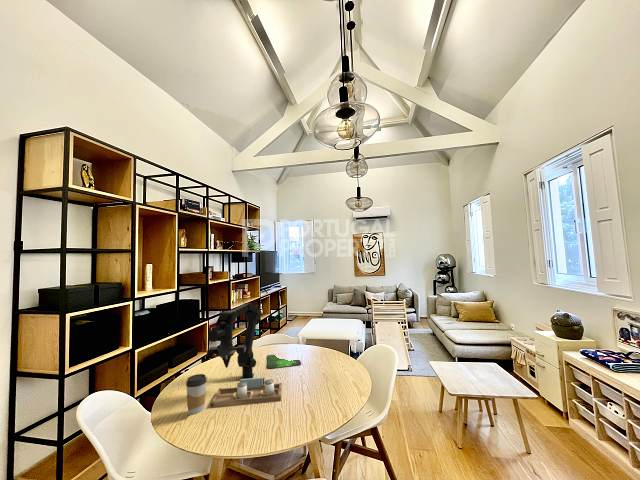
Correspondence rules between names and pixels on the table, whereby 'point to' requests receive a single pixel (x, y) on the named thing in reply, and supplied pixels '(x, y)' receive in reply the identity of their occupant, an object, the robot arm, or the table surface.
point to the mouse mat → (280, 362)
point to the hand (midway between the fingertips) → (226, 367)
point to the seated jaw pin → (242, 390)
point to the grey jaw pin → (269, 387)
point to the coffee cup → (196, 393)
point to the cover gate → (253, 382)
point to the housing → (253, 396)
